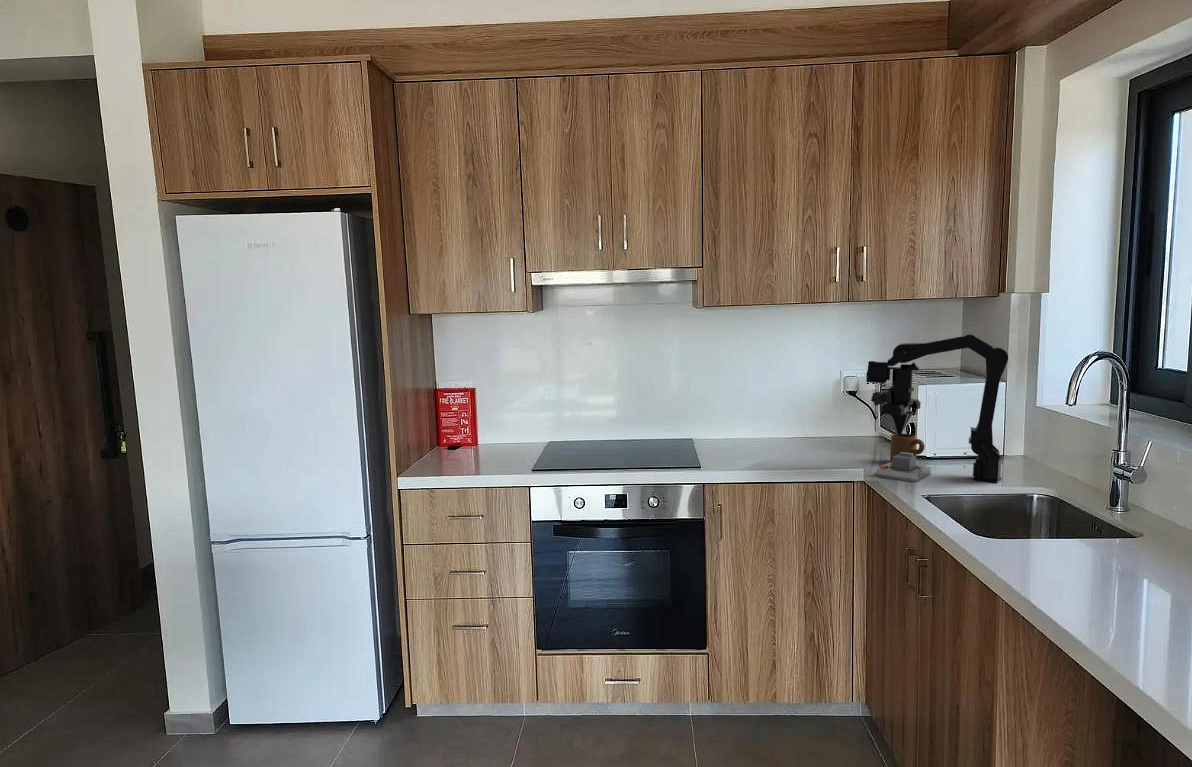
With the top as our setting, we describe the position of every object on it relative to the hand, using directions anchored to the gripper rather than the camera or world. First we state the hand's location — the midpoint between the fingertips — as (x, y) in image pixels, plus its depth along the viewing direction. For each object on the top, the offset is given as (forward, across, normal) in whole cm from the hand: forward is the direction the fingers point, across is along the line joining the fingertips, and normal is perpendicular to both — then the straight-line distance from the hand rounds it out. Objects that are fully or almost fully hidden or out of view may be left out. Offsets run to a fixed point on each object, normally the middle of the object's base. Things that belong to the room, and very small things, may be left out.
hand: (899, 433), depth 231 cm
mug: (+12, -12, -1) cm, 17 cm away
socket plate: (+12, +3, +3) cm, 13 cm away
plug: (+11, +3, +3) cm, 12 cm away
